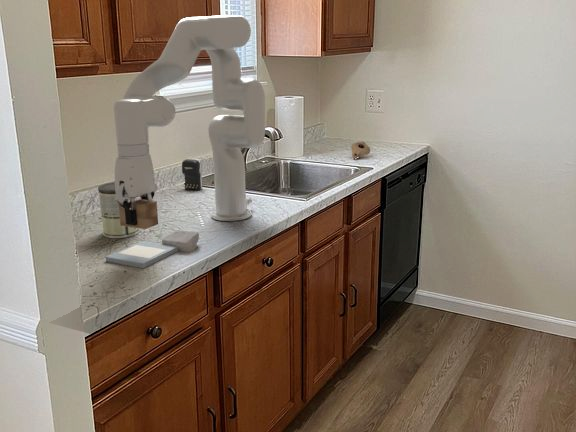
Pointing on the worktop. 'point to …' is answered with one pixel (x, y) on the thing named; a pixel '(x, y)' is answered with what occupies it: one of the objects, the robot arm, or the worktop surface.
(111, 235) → the coffee can
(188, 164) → the battery charger
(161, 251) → the board
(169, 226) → the worktop surface
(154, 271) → the worktop surface
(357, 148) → the pottery oil lamp
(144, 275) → the worktop surface
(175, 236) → the rough stone chunk
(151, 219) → the walnut block
